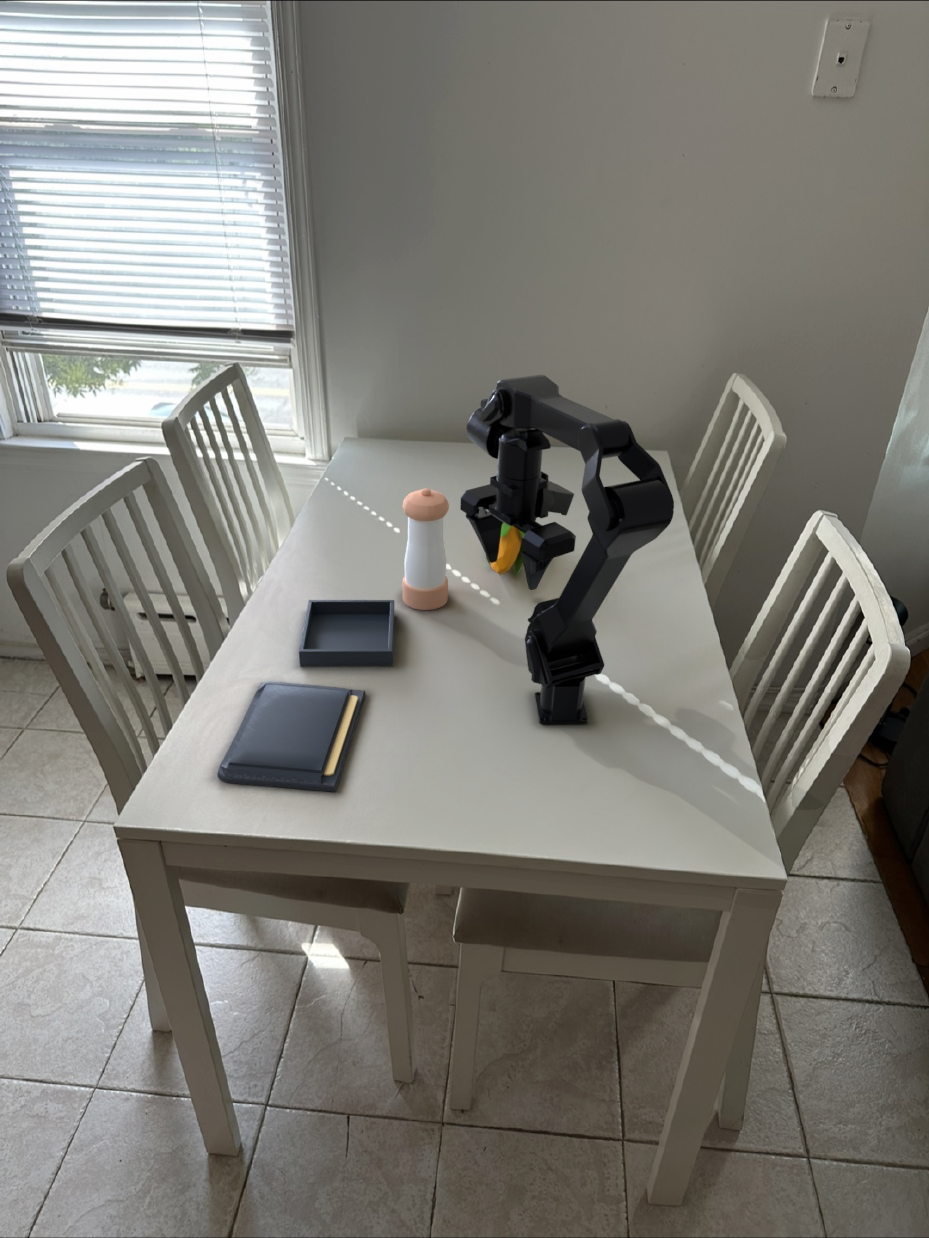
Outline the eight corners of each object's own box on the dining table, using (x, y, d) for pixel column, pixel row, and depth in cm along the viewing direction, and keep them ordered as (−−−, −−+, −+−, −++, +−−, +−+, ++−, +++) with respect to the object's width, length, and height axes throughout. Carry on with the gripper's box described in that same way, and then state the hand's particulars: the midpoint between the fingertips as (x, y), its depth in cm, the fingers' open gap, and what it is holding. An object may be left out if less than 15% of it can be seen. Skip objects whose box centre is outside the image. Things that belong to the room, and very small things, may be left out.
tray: (392, 666, 133) (392, 651, 131) (299, 666, 132) (298, 651, 130) (394, 614, 145) (394, 599, 143) (309, 614, 144) (308, 599, 142)
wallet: (261, 672, 127) (370, 683, 126) (262, 684, 128) (370, 695, 127) (209, 769, 110) (333, 783, 109) (210, 781, 111) (334, 795, 110)
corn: (529, 497, 164) (525, 549, 147) (529, 535, 168) (526, 590, 151) (487, 497, 165) (479, 549, 148) (489, 535, 169) (481, 590, 152)
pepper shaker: (393, 597, 149) (391, 488, 139) (427, 582, 153) (427, 475, 143) (423, 615, 144) (423, 503, 134) (457, 599, 149) (460, 490, 139)
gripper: (612, 483, 119) (600, 588, 127) (523, 437, 132) (517, 535, 140) (545, 503, 113) (536, 611, 122) (459, 453, 126) (456, 554, 134)
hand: (512, 575), depth 130 cm, fingers open, 9 cm apart
